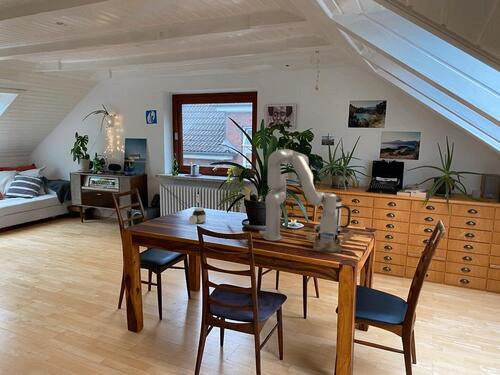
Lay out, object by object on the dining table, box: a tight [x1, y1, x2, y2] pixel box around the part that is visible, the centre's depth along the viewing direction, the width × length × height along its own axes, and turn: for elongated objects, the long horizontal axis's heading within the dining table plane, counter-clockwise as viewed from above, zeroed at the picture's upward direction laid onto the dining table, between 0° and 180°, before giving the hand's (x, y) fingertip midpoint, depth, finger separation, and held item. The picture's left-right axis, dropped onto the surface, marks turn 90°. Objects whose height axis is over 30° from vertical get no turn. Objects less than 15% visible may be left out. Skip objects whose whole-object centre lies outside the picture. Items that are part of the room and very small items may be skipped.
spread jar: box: [188, 206, 207, 226], centre depth 270 cm, size 12×11×12 cm
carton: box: [305, 232, 343, 254], centre depth 222 cm, size 21×24×7 cm
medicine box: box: [320, 232, 335, 243], centre depth 222 cm, size 8×4×9 cm, turn 66°
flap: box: [341, 228, 354, 244], centre depth 218 cm, size 1×12×8 cm
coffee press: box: [331, 191, 351, 237], centre depth 251 cm, size 17×16×30 cm
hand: (327, 240), depth 221 cm, fingers open, 9 cm apart
